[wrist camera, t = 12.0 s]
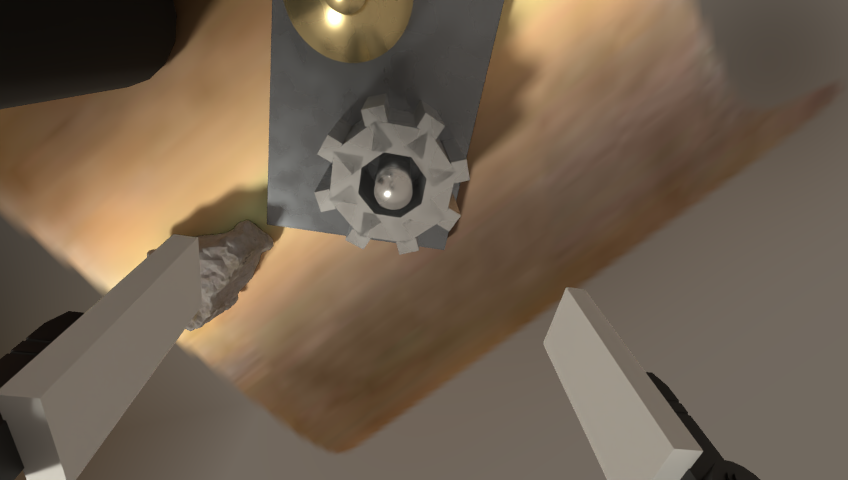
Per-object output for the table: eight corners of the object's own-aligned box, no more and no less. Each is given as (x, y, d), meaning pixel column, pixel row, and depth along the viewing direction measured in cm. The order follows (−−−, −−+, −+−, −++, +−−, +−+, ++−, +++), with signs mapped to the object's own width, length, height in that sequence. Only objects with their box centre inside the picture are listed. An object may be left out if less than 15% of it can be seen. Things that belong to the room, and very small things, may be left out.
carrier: (281, -104, 25) (230, -166, 17) (510, -46, 27) (554, -80, 19) (272, 217, 34) (236, 267, 27) (442, 242, 36) (454, 295, 29)
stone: (217, 184, 33) (184, 211, 28) (293, 248, 36) (275, 283, 31) (147, 254, 36) (104, 291, 30) (223, 309, 39) (196, 351, 33)
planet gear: (336, 83, 29) (321, 93, 23) (468, 108, 30) (483, 123, 25) (324, 209, 33) (310, 241, 27) (441, 226, 34) (449, 261, 29)
